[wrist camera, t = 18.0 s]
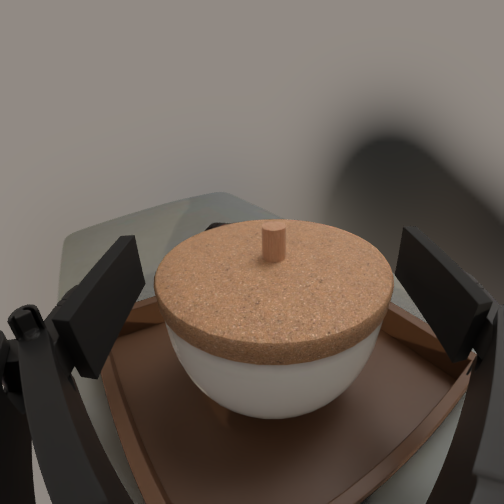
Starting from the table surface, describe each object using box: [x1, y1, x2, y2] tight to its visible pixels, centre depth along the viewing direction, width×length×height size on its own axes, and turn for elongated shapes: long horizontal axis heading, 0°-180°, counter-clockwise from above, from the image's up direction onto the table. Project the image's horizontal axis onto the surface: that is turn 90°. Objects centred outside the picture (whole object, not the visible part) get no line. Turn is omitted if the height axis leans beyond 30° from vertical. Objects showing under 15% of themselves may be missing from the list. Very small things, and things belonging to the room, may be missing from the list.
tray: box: [101, 296, 477, 504], centre depth 17 cm, size 19×19×3 cm
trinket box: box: [154, 219, 394, 419], centre depth 15 cm, size 11×11×9 cm
